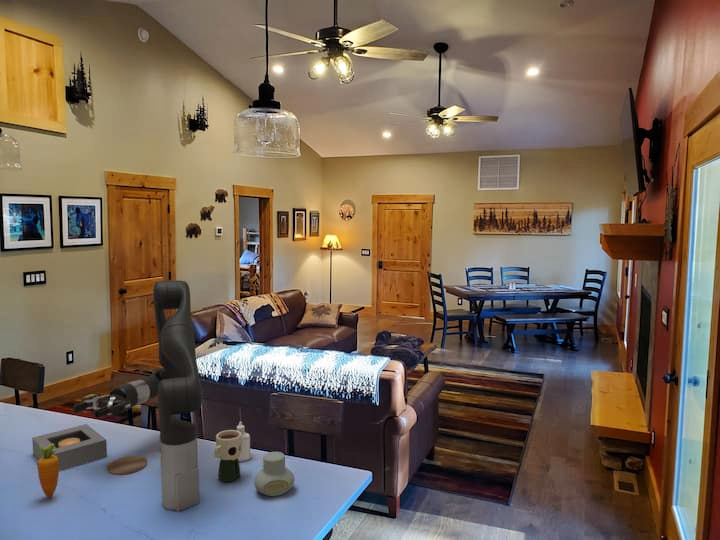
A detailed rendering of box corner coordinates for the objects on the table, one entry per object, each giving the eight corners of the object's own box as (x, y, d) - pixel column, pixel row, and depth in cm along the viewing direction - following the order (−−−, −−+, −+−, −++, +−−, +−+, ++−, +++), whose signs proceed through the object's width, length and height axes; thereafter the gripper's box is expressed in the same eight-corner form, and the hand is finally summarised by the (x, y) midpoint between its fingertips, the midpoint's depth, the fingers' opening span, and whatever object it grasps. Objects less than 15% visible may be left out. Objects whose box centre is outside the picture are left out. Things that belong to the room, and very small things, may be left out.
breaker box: (107, 456, 164) (106, 439, 164) (49, 473, 153) (49, 455, 153) (87, 440, 177) (86, 424, 177) (33, 454, 166) (32, 437, 165)
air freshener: (255, 501, 139) (255, 464, 138) (253, 486, 147) (252, 451, 146) (296, 495, 142) (296, 459, 141) (292, 481, 150) (291, 447, 149)
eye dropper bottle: (245, 463, 160) (244, 425, 159) (229, 461, 162) (228, 423, 161) (252, 457, 165) (252, 420, 164) (236, 455, 166) (236, 418, 165)
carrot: (34, 500, 139) (32, 445, 137) (53, 491, 143) (50, 438, 142) (46, 504, 136) (43, 449, 135) (64, 496, 141) (62, 442, 140)
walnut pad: (153, 466, 158) (153, 463, 158) (115, 478, 150) (115, 476, 150) (138, 454, 166) (138, 452, 166) (101, 466, 158) (101, 463, 158)
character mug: (225, 489, 145) (224, 444, 144) (206, 482, 148) (205, 438, 147) (251, 473, 154) (251, 430, 153) (233, 467, 158) (232, 425, 157)
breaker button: (83, 447, 165) (82, 441, 165) (62, 453, 161) (61, 447, 160) (76, 442, 169) (76, 436, 169) (56, 447, 165) (55, 441, 165)
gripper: (113, 379, 165) (66, 395, 151) (147, 386, 160) (101, 403, 145) (114, 402, 166) (67, 420, 152) (147, 410, 160) (102, 429, 146)
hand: (83, 412), depth 148 cm, fingers open, 8 cm apart
